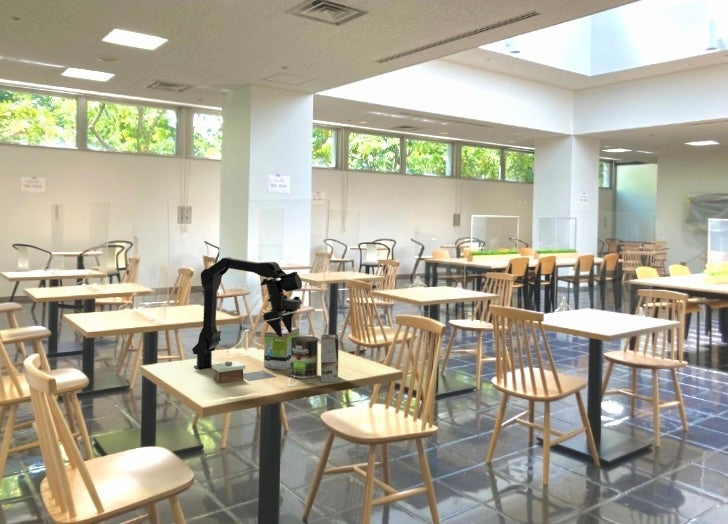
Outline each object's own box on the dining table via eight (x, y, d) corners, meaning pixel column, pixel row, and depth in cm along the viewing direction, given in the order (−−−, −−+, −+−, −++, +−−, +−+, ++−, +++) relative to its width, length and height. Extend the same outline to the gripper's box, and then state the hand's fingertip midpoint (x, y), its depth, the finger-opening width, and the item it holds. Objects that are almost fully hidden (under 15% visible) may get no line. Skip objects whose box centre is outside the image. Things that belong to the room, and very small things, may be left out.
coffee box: (338, 382, 217) (338, 338, 216) (320, 382, 216) (321, 338, 215) (337, 375, 226) (337, 334, 225) (320, 376, 225) (321, 334, 224)
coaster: (236, 376, 223) (236, 374, 223) (263, 372, 229) (263, 370, 229) (249, 383, 214) (249, 380, 214) (276, 378, 220) (276, 376, 220)
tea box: (287, 370, 234) (287, 333, 233) (263, 368, 236) (263, 331, 235) (299, 361, 248) (299, 326, 247) (276, 360, 250) (276, 325, 249)
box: (213, 381, 215) (213, 368, 215) (237, 378, 220) (237, 365, 220) (219, 385, 210) (219, 371, 210) (243, 381, 216) (243, 368, 215)
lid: (212, 370, 215) (212, 361, 215) (237, 367, 221) (237, 358, 221) (219, 374, 209) (219, 366, 209) (245, 371, 215) (245, 362, 214)
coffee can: (310, 379, 220) (311, 342, 219) (286, 376, 223) (286, 339, 222) (322, 373, 229) (322, 337, 228) (298, 370, 233) (298, 335, 232)
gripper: (285, 292, 215) (295, 334, 215) (304, 287, 233) (313, 326, 232) (258, 299, 218) (267, 340, 218) (278, 293, 236) (287, 331, 236)
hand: (285, 334), depth 226 cm, fingers open, 9 cm apart
